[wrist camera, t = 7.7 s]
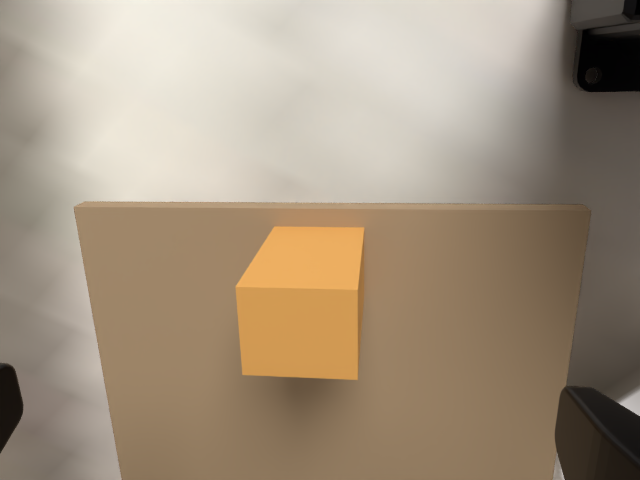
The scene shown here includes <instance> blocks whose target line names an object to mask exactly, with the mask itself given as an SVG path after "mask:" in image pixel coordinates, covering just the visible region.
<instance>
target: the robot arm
mask: <svg viewBox="0 0 640 480" xmlns="http://www.w3.org/2000/svg"><path fill="white" fill-rule="evenodd" d="M570 23H571V24H572V26H573V27H574V28H575V29H576V30H578V36H577V44H576V52H575V60H574V68H573V82H574V84H575V86H576V87H577V88H578V89H580V90H582V91H588V92H623V91H640V0H572V7H571V16H570ZM590 68H595V70H596V71H597V77H596V79H595V80H594V81H593V82H592V83H588V82H587V81H586V80H585V74H586V72H587V71H588V70H589V69H590ZM22 414H23V401H22V396H21V392H20V388H19V383H18V379H17V375H16V371H15V369H14V368H13V366H12V365H10V364H7V363H0V453H1V451H2V450H3V448H4V446H5V445H6V443H7V441H8V440H9V438H10V436H11V435H12V433H13V431H14V430H15V428H16V426H17V425H18V423H19V421H20V419H21V417H22ZM555 445H556V450H557V453H558V457H559V461H560V464H561V468H562V471H563V475H564V479H565V480H640V416H638V415H637V414H635V413H633V412H632V411H630V410H628V409H627V408H625V407H624V406H622V405H620V404H619V403H617V402H615V401H614V400H612V399H610V398H609V397H607V396H605V395H604V394H602V393H600V392H599V391H597V390H595V389H594V388H591V387H578V386H566V387H564V388H563V389H562V391H561V393H560V397H559V404H558V411H557V418H556V425H555Z"/></svg>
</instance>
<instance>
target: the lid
mask: <svg viewBox="0 0 640 480" xmlns="http://www.w3.org/2000/svg"><path fill="white" fill-rule="evenodd" d="M74 212H75V218H76V223H77V229H78V235H79V240H80V246H81V252H82V257H83V263H84V269H85V274H86V280H87V286H88V291H89V297H90V303H91V308H92V314H93V320H94V325H95V331H96V336H97V342H98V348H99V353H100V359H101V365H102V370H103V376H104V382H105V387H106V393H107V399H108V404H109V410H110V416H111V421H112V427H113V433H114V438H115V444H116V450H117V455H118V461H119V467H120V472H121V478H122V480H552V479H553V472H554V465H555V458H556V451H557V450H556V445H555V425H556V418H557V411H558V404H559V397H560V393H561V391H562V389H563V388H564V387H566V382H567V375H568V369H569V362H570V355H571V348H572V341H573V334H574V327H575V320H576V313H577V307H578V300H579V293H580V286H581V279H582V272H583V265H584V258H585V251H586V245H587V238H588V231H589V224H590V217H591V210H590V209H588V208H587V207H586V206H584V205H583V204H425V203H255V202H83V203H81V204H79V205H77V206H75V207H74Z"/></svg>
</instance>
